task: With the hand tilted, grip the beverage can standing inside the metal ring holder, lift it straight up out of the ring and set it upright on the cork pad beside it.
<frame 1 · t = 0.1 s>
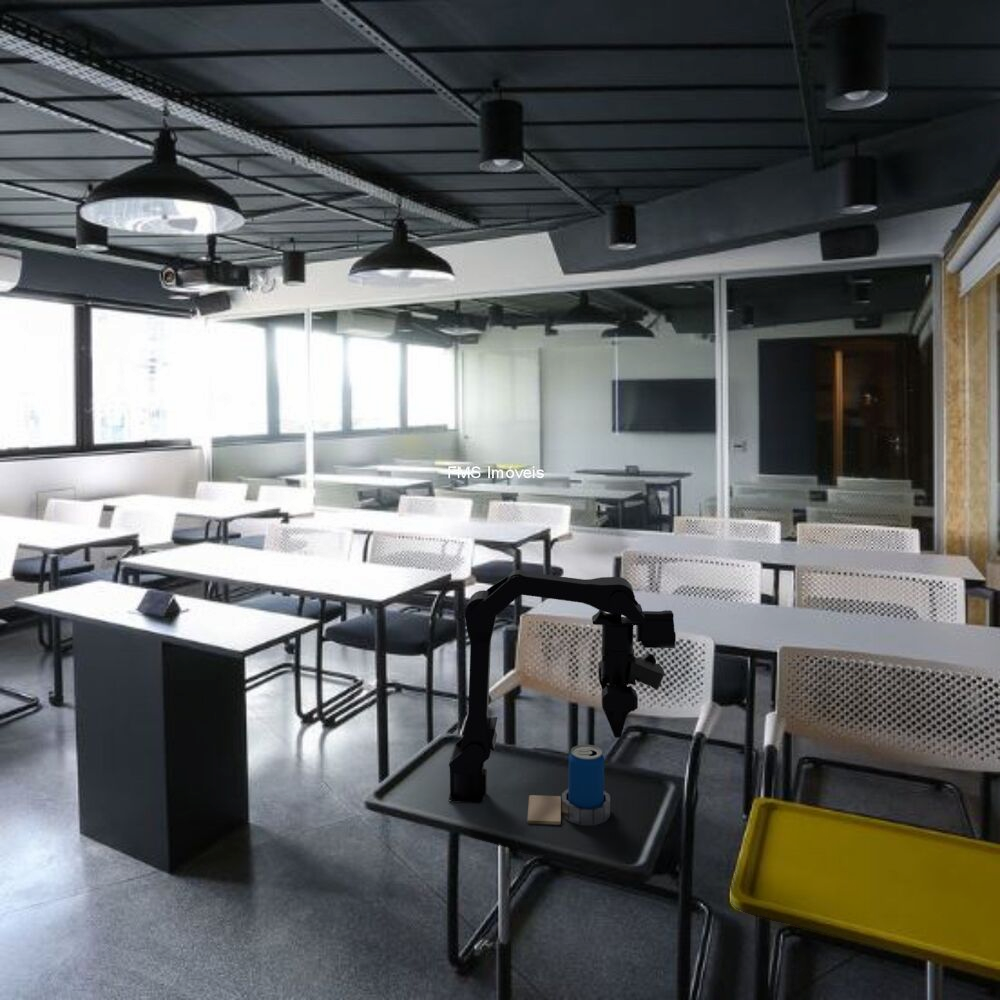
hand: (616, 726, 154), 15 cm above the table, tool pointing down, fingers open, 9 cm apart
cork pad: (544, 810, 153), on the table
beverage can: (585, 813, 152), resting in ring holder
ring holder: (585, 812, 152), on the table
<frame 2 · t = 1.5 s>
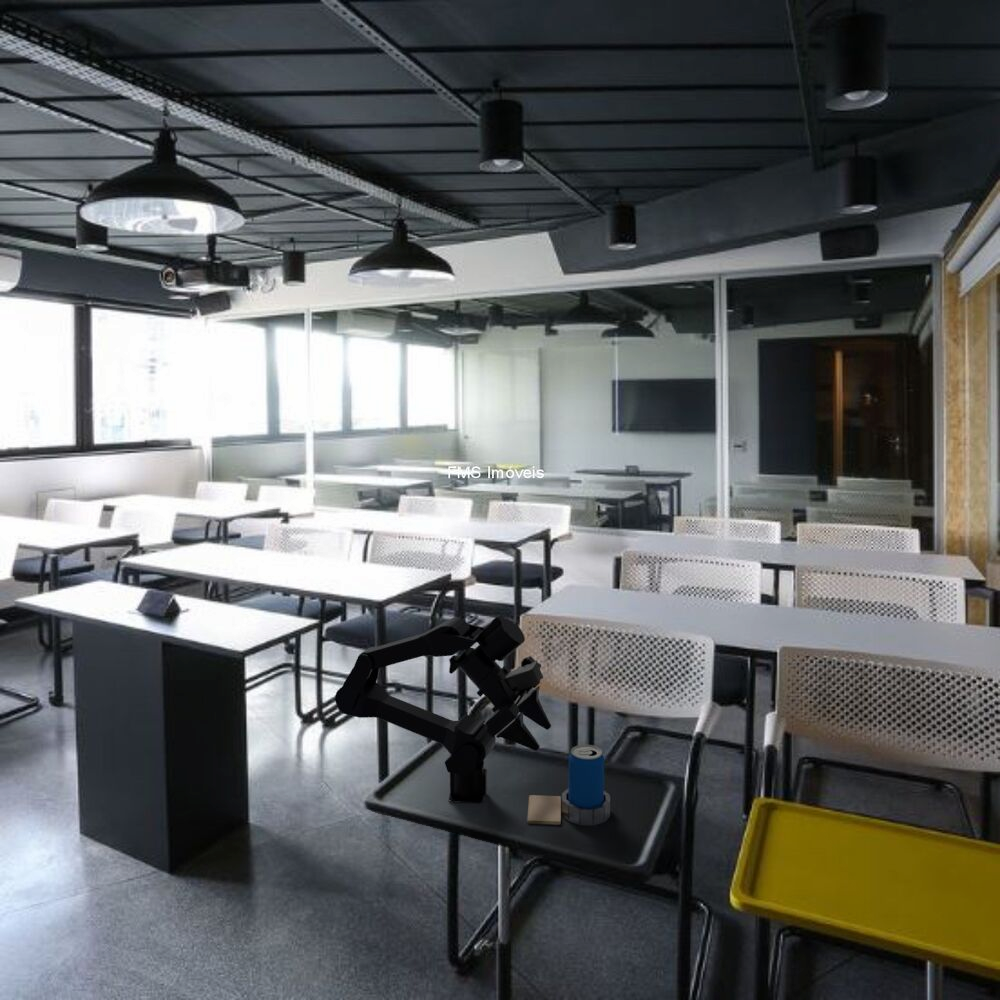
hand: (543, 738, 153), 13 cm above the table, tool tilted 45°, fingers open, 9 cm apart
nothing on the table moved.
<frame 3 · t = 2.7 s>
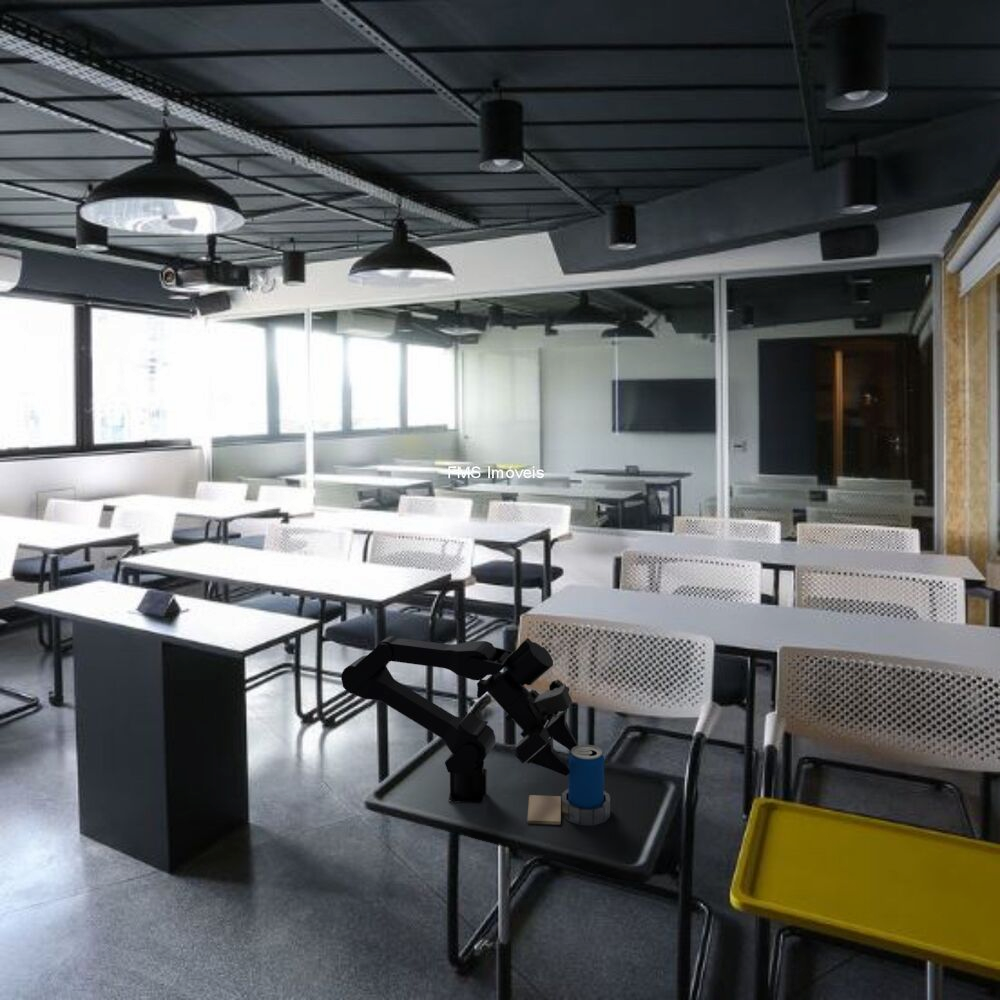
hand: (573, 762, 152), 9 cm above the table, tool tilted 45°, fingers open, 9 cm apart
nothing on the table moved.
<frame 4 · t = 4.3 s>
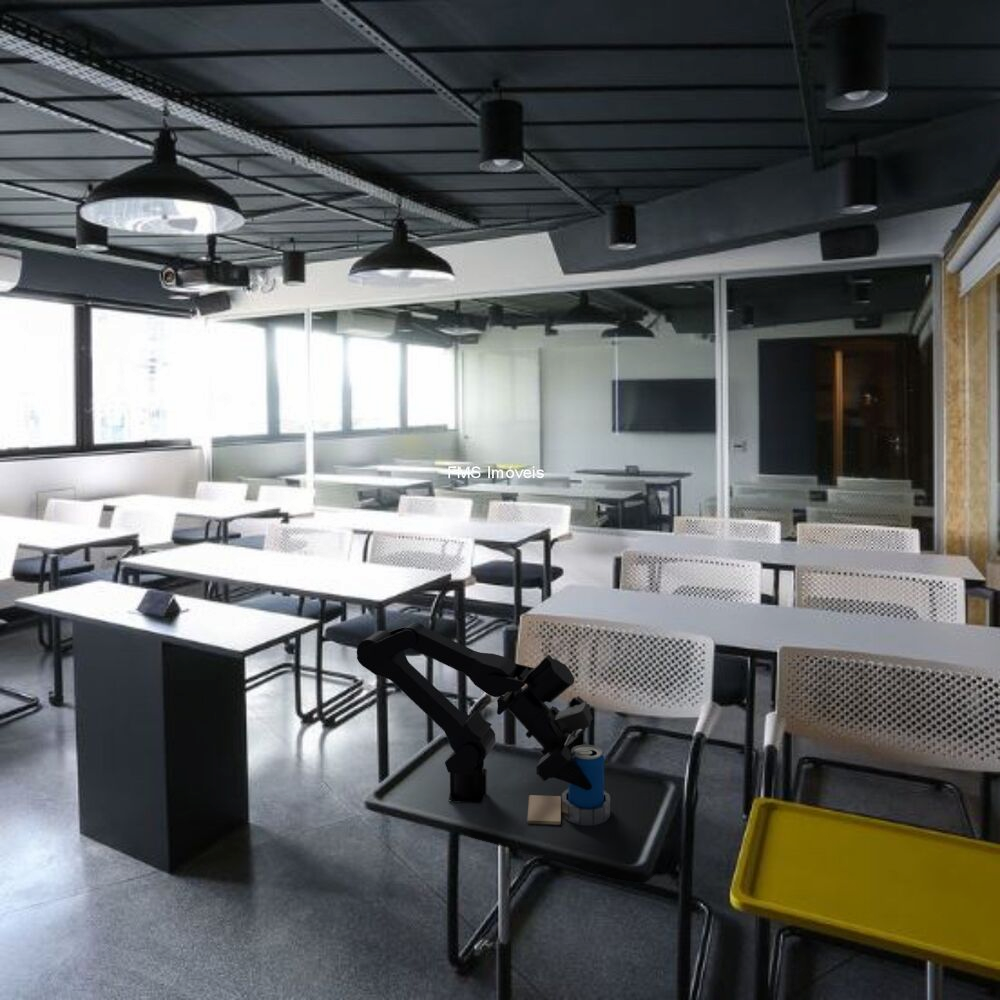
hand: (593, 779, 151), 7 cm above the table, tool tilted 45°, fingers closed on beverage can, 6 cm apart
beverage can: (585, 813, 152), resting in ring holder, touching gripper
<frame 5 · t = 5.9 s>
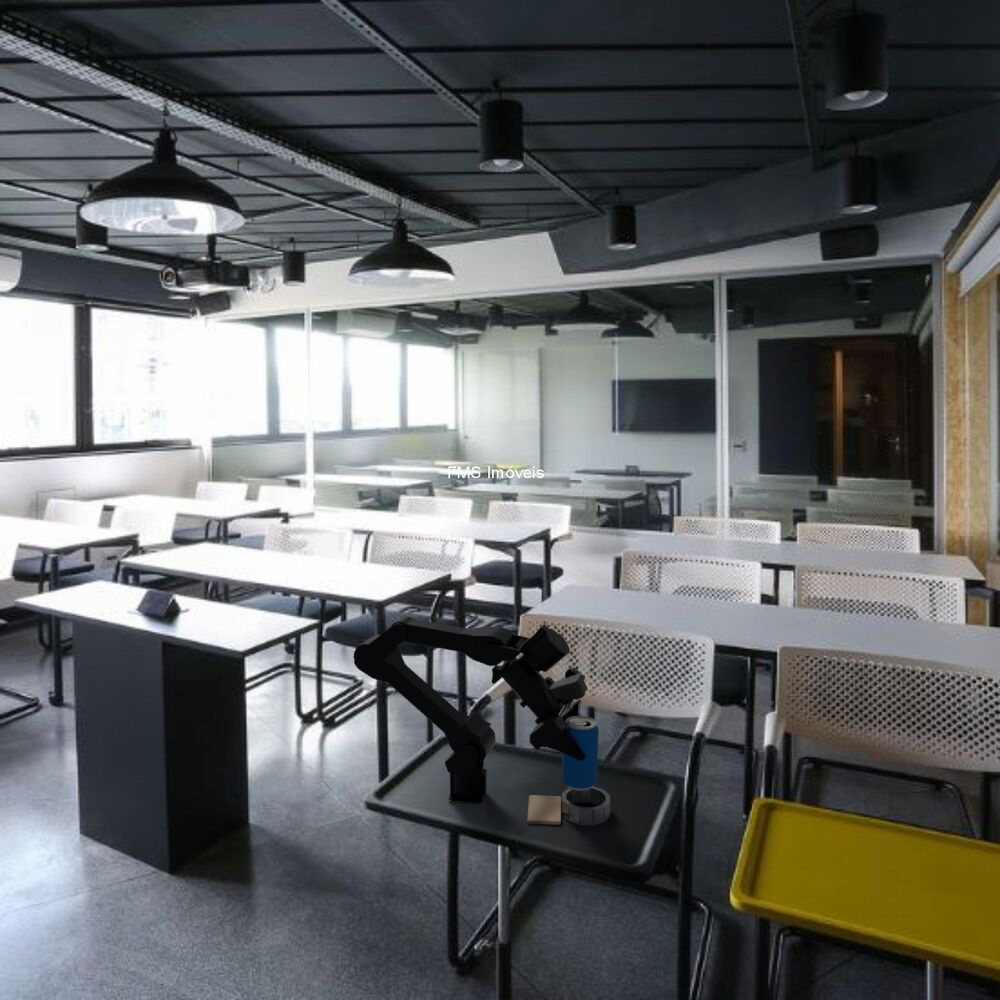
hand: (587, 751, 150), 12 cm above the table, tool tilted 45°, fingers closed on beverage can, 6 cm apart
beverage can: (579, 784, 152), point 5 cm above the table, touching gripper
when the fingers open (8 cm above the table, at t = 7.8 s): beverage can drops 1 cm, resting on cork pad.
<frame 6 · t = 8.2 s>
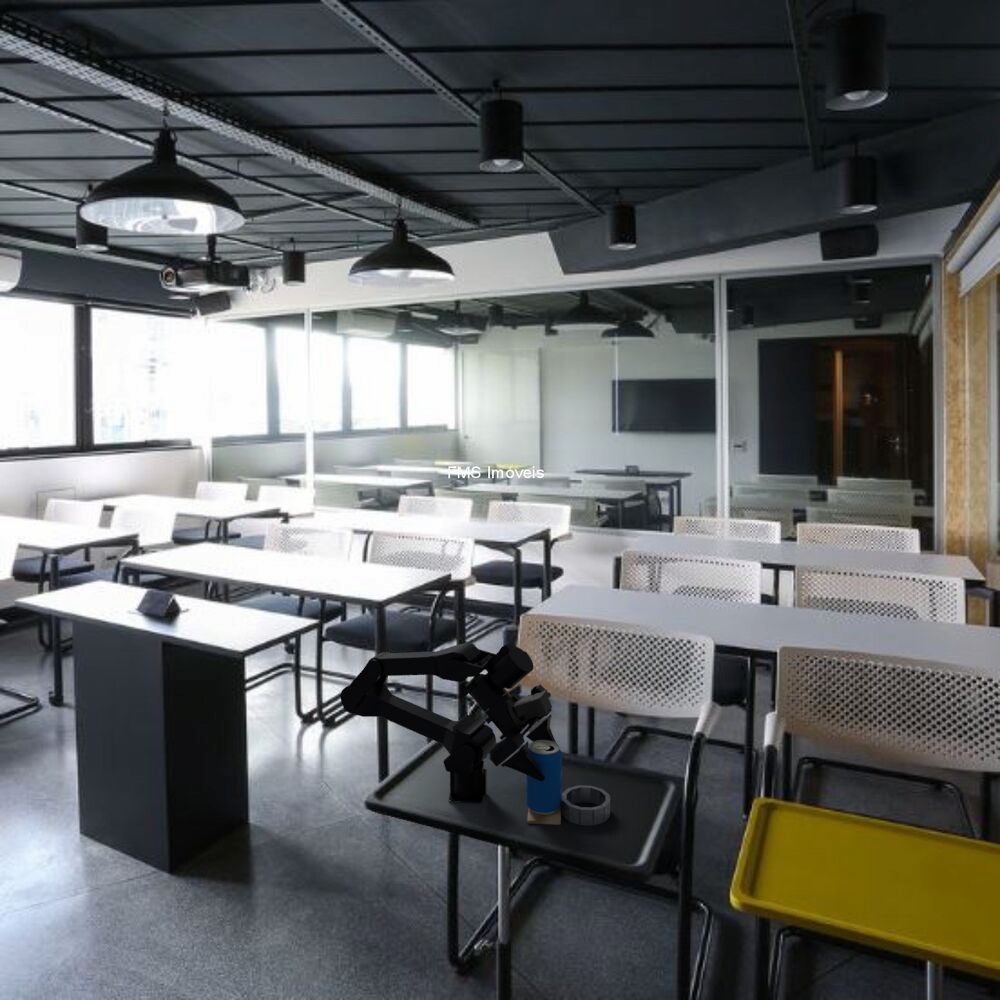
hand: (551, 768, 151), 9 cm above the table, tool tilted 45°, fingers open, 9 cm apart
beverage can: (543, 808, 153), resting on cork pad
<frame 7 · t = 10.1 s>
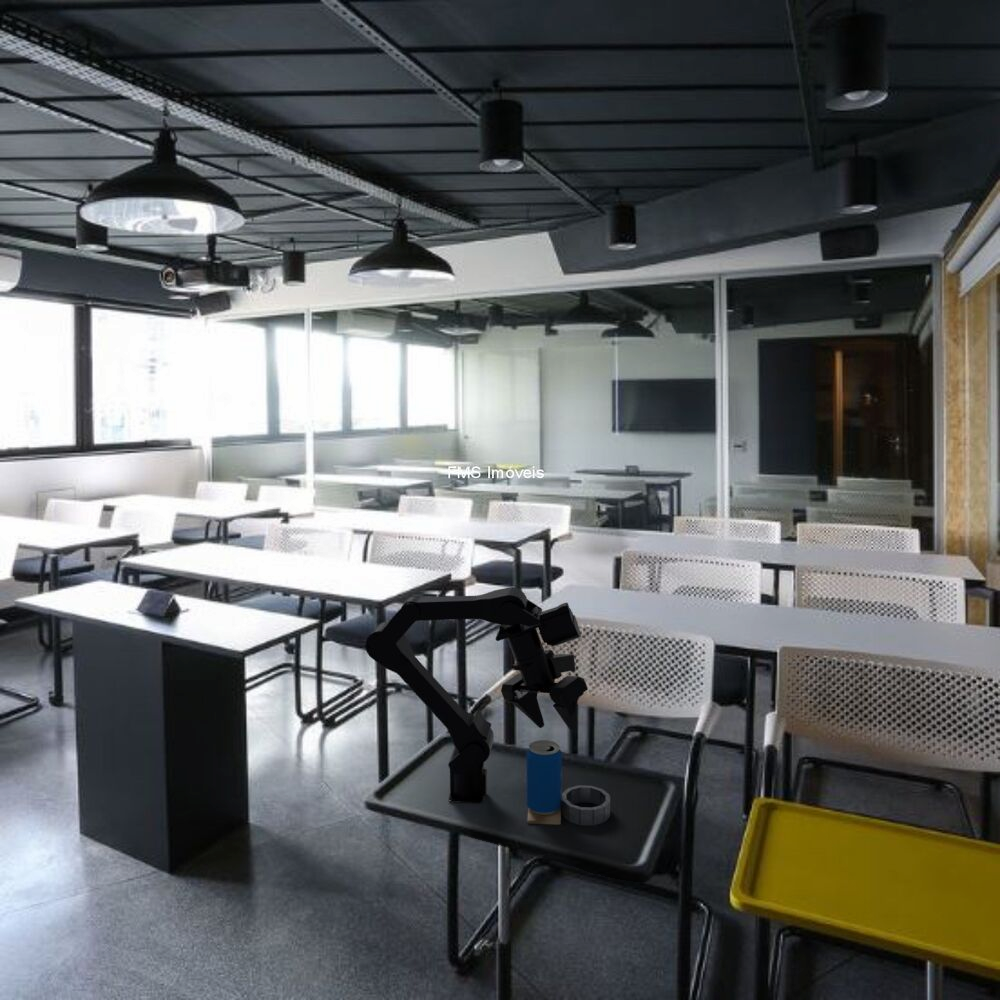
hand: (558, 728, 155), 14 cm above the table, tool tilted 20°, fingers open, 9 cm apart
nothing on the table moved.
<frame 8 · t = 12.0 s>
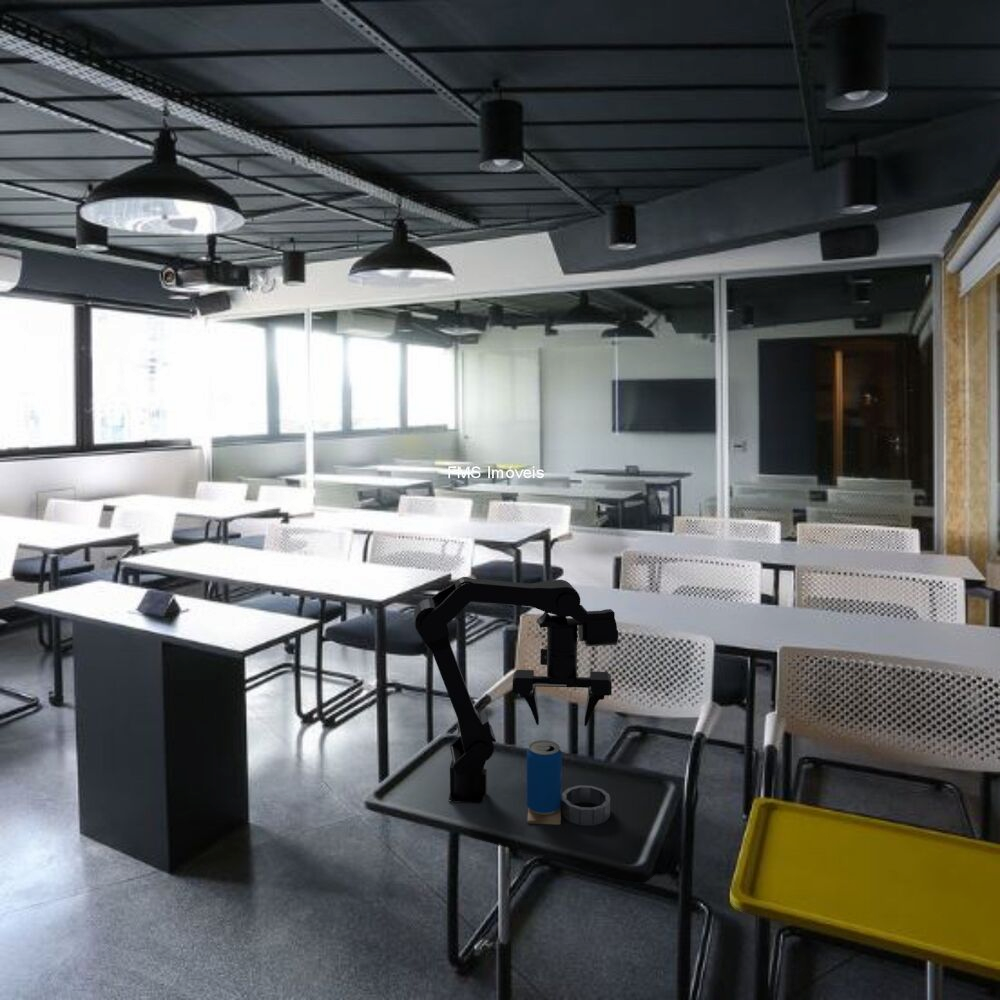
hand: (561, 724, 160), 13 cm above the table, tool pointing down, fingers open, 9 cm apart
nothing on the table moved.
at the end: beverage can inside the target area on the cork pad (0.1 cm from its centre), point 0.4 cm above the cork pad's base; beverage can tilted 0°; beverage can moved 7.7 cm from its start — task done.
